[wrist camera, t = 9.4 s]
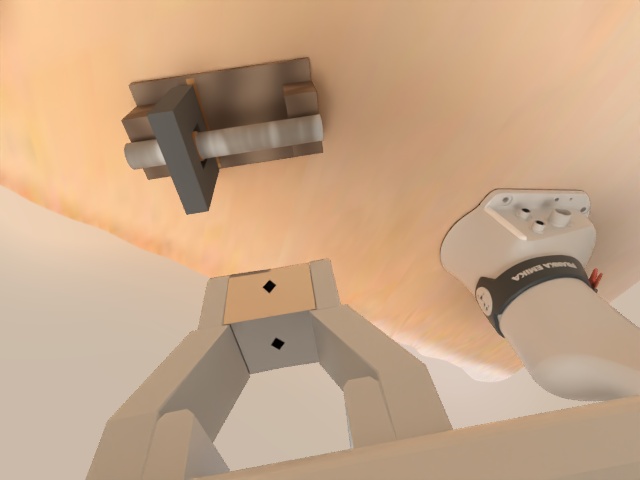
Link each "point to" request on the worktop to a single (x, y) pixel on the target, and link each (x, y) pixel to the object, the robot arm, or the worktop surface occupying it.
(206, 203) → the dark grey flat slab
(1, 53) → the worktop surface
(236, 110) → the pipe stand
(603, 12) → the worktop surface
